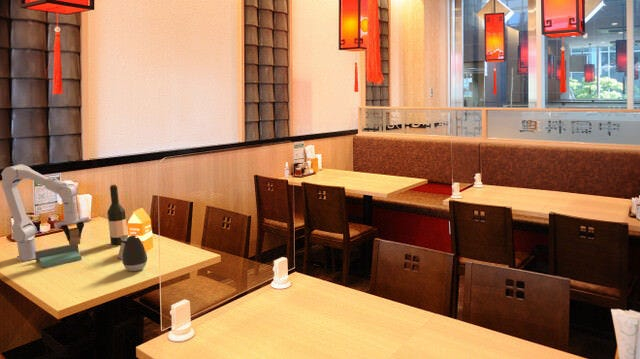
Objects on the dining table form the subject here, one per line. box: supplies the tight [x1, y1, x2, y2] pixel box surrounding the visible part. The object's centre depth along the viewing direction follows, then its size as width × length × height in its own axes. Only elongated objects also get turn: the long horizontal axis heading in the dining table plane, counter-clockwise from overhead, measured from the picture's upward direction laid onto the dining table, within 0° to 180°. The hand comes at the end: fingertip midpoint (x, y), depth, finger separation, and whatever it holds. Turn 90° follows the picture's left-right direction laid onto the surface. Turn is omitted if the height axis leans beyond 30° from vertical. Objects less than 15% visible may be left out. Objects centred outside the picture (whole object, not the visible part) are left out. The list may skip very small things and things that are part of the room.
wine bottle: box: [106, 184, 128, 247], centre depth 256 cm, size 8×8×30 cm
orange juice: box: [126, 207, 154, 253], centre depth 245 cm, size 8×9×20 cm
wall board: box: [35, 244, 83, 269], centre depth 235 cm, size 12×18×5 cm, turn 127°
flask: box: [117, 235, 128, 260], centre depth 237 cm, size 7×7×10 cm
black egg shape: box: [121, 235, 148, 272], centre depth 220 cm, size 10×10×15 cm
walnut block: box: [68, 227, 81, 246], centre depth 237 cm, size 4×4×7 cm
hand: (74, 239), depth 238 cm, fingers closed on walnut block, 4 cm apart
